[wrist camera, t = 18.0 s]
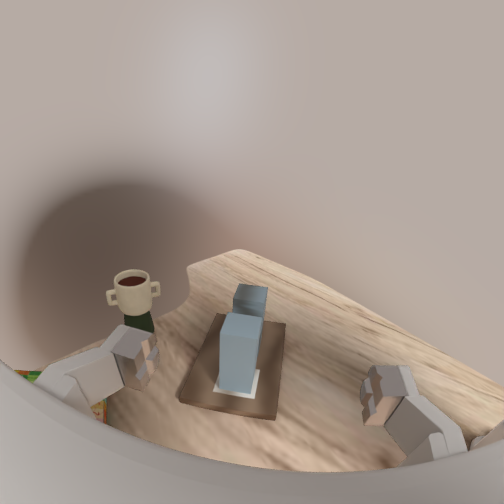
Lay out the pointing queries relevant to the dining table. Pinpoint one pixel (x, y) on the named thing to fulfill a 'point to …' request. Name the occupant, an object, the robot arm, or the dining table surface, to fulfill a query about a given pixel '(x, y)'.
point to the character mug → (134, 298)
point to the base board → (266, 373)
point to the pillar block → (238, 352)
